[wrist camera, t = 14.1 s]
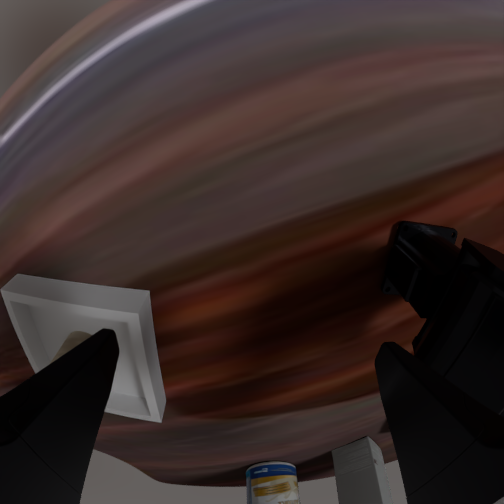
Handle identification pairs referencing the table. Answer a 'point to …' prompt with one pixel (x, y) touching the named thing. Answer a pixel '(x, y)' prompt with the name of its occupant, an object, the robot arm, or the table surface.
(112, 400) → the grey bin
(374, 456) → the skincare box
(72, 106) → the table surface
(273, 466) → the beverage bottle
